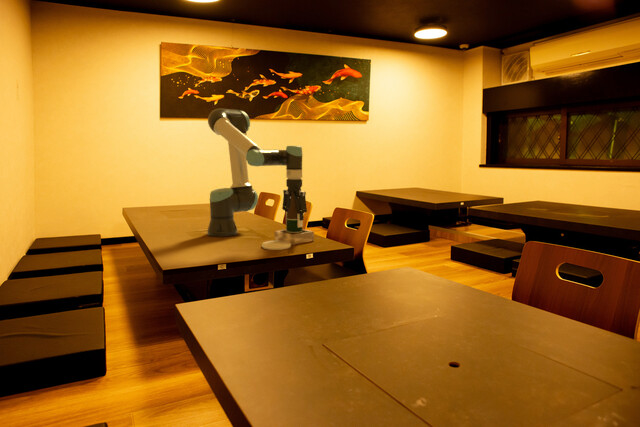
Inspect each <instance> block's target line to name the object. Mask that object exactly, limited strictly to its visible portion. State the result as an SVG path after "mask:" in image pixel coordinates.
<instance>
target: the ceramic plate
mask: <svg viewBox="0 0 640 427" xmlns="http://www.w3.org/2000/svg"><path fill="white" fill-rule="evenodd" d="M261 247H262V249H265V250H270V251H282V250H287V249H291V247H292V244H291V243H290V242H288V241H276V240H267V241H264V242H262V243H261Z"/></svg>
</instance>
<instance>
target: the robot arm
mask: <svg viewBox="0 0 640 427" xmlns="http://www.w3.org/2000/svg"><path fill="white" fill-rule="evenodd" d="M207 124H208V126H209V128H210V130H211V131H212V132H213V133H215V134H216V135H217V136H221V137H223V139H224V140H226V141H227V144H228V153H229V154H228V155H229V162H230V172H231V179H232V181H231V182H232V184H231V186H230V187H223V188H217V189H214V190H212V191H210V193H209V204H210V205H209V213H210V215H209V217H210V220H209V224H208V227H207V236H210V237H218V238H219V237H220V238H223V237H232V236H236V235H238V228H237V225H236V222H235V218H234V215H235V214H234V213H241V212H242V213H243V212H249V211H252V210H254V209H255V208H256V206H257V205H258V201H259V195H258V193H257V191H256V190H255V189H253V185H252V184H251V182H250V180H249V179H250V178H249V172H248V165H249V166H250V167H251V166H252V167H267V166H268V167H269V166H272V167H273V166H276V167H277V166H282V167H283V166H285V167H286V168H285V169H286V174H285V176H286V177H285V178H286V180H285V181H286V184H285V185H286V187H287V189H284V190H283V198H282V208H281V209H282V210H283V211H284V212H285V217H284V218H286V216H287V212H288V210H289V208H290V203H291V191H292V194H293V196H294V200H295V201H296V204H297V208H298V212H299V213H298V227H302V228H303V227H304V215H305V213H307V212H308V210H307V209H308V208H307V202H306V193H307V192H306V191H303V190H302V187H303V179H302V178H303V148H302V147H303V146H301V145H287V146H286V147H285V148H286V149H262V147H260V146H258V145H257V143H255V142H254V141H252V140H251V139H250V138H249V137H248V136H247V132H248V131H249V130H250V127H251V120H250V117H249V115H248V114H247V113H246V112H245V111H243V110H242V109H241V110H239V109H233V108H231V109H230V108H221V107H220V108H215V109H214V110H212V111H211V112H210V113H209V115H208V117H207Z"/></svg>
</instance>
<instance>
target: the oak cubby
mask: <svg viewBox="0 0 640 427" xmlns="http://www.w3.org/2000/svg"><path fill="white" fill-rule="evenodd" d="M314 240H315V232H314V231H313V230H308V229H303V228H302V233H299V234H289V233H286V229H279V230H275V231H274V241H288V242H290V243H291V246H292V245H298V244H305V243H308V242H314Z"/></svg>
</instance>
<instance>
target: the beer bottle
mask: <svg viewBox="0 0 640 427" xmlns="http://www.w3.org/2000/svg"><path fill="white" fill-rule="evenodd" d="M298 213H299V212H298V208H297V204H296V201H295V200H294V196H293V194H292V191H291V203H290V208H289V210H288V212H287V216H286V215H285V216H286V217H285V226H286V229H285V230H286V233H289V234H299V233H302V229H303V227H298Z"/></svg>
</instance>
